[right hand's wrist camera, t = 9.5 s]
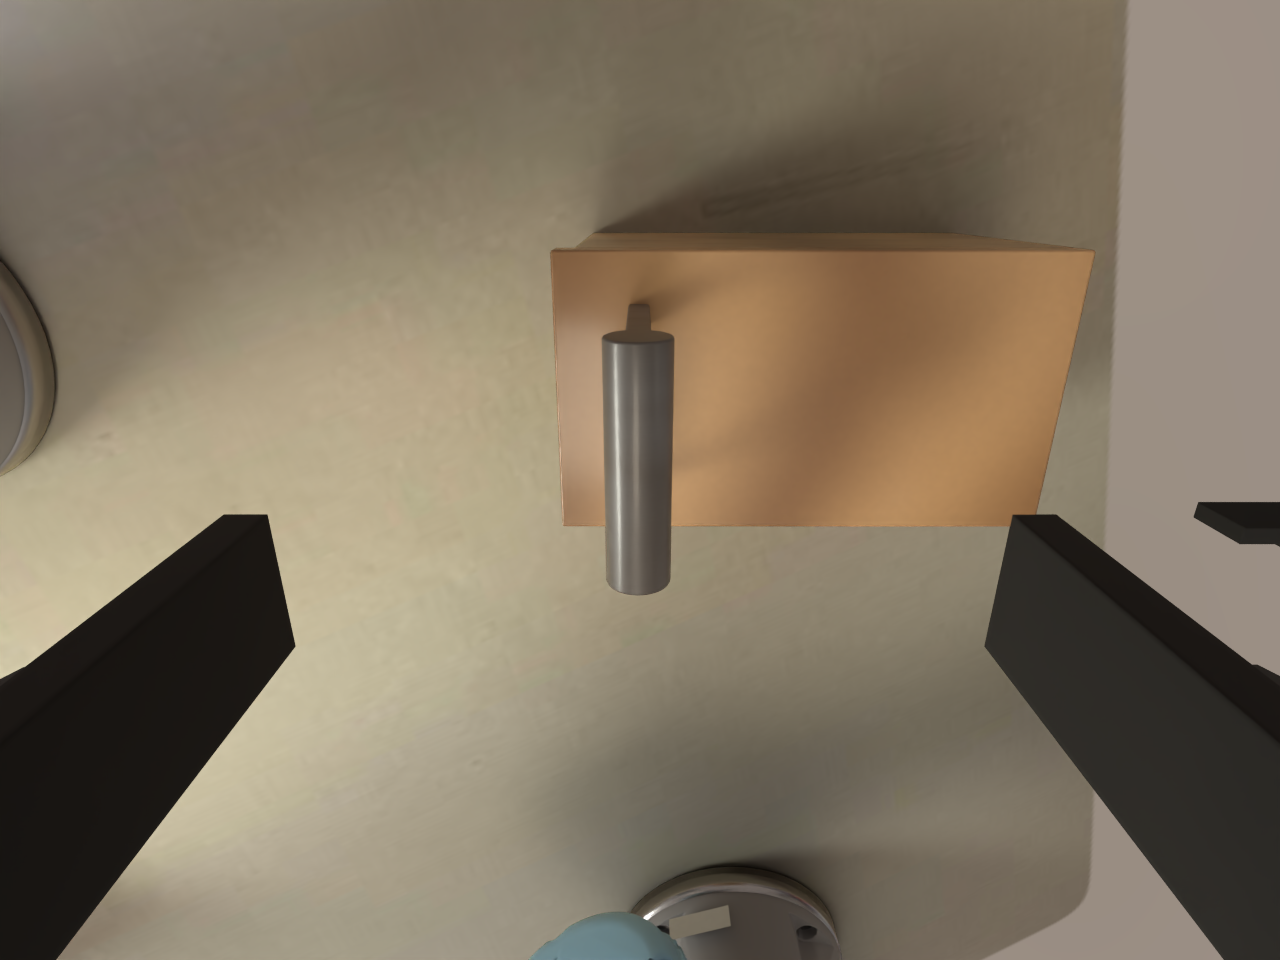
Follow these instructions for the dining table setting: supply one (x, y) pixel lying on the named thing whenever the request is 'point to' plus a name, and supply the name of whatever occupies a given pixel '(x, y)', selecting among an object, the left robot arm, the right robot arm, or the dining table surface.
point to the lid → (805, 388)
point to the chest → (800, 240)
